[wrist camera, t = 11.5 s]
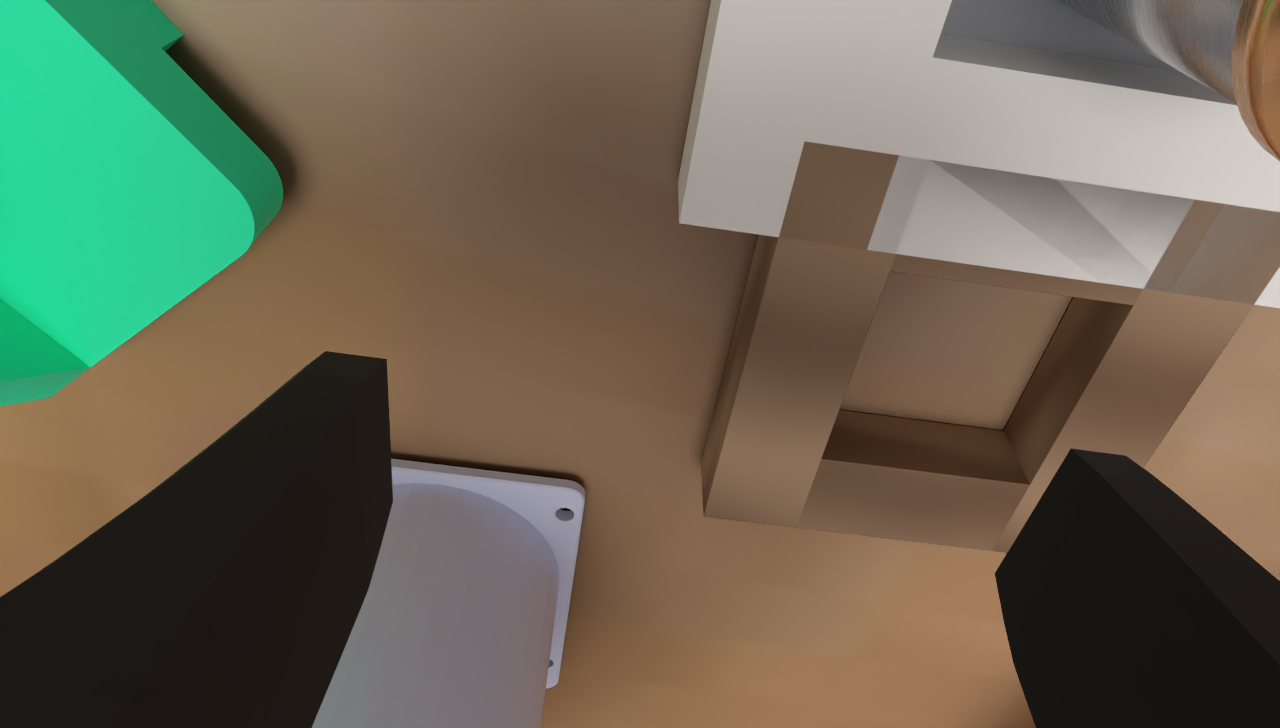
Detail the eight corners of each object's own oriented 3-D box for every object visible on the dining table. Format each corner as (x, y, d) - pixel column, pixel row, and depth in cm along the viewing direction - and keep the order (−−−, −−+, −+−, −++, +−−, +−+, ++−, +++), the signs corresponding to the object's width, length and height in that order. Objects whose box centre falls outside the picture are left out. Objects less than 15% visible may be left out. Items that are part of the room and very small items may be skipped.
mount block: (1051, 505, 24) (1080, 561, 22) (701, 462, 23) (703, 516, 21) (1254, 175, 18) (1313, 217, 16) (791, 104, 17) (804, 141, 16)
